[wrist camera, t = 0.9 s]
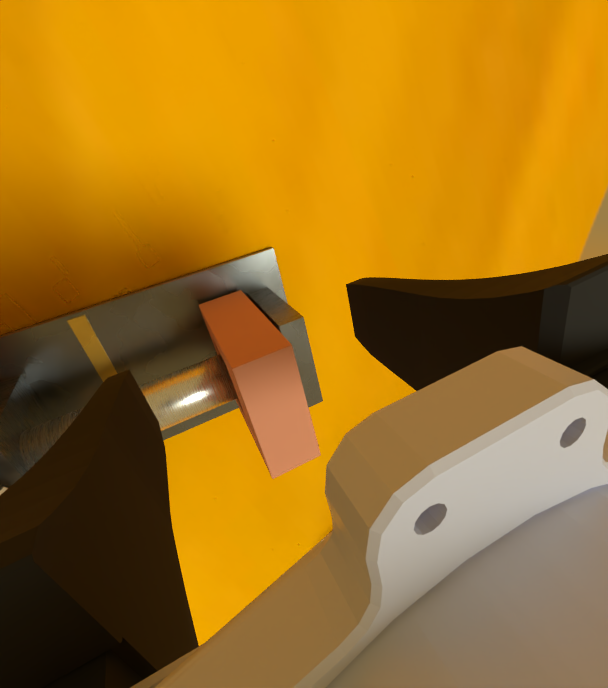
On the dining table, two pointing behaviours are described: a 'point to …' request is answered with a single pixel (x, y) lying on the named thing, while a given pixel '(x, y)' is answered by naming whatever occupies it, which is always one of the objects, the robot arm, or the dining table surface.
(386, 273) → the dining table surface
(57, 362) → the pipe rig
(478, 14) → the dining table surface
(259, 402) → the orange block
